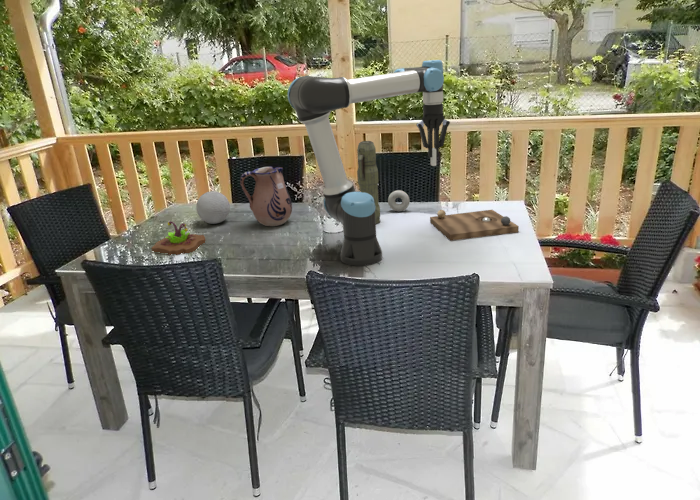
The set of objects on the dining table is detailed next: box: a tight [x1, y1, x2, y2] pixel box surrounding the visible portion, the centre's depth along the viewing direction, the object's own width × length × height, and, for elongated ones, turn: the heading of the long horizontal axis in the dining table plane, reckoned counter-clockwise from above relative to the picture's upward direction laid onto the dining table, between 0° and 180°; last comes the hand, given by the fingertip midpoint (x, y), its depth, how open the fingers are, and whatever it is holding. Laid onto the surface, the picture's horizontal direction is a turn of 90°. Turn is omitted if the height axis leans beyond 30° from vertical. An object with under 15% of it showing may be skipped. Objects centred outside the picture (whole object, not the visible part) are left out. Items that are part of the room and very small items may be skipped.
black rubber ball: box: [501, 216, 511, 225], centre depth 204 cm, size 4×4×4 cm
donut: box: [387, 189, 410, 212], centre depth 238 cm, size 10×3×10 cm, turn 77°
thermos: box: [356, 140, 381, 225], centre depth 221 cm, size 9×12×35 cm
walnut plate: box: [429, 209, 520, 242], centre depth 212 cm, size 28×24×2 cm
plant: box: [150, 220, 207, 256], centre depth 213 cm, size 20×20×11 cm
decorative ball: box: [196, 190, 231, 225], centre depth 239 cm, size 15×15×15 cm
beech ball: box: [436, 209, 447, 218], centre depth 218 cm, size 4×4×4 cm
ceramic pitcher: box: [239, 166, 293, 227], centre depth 230 cm, size 18×21×25 cm
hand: (433, 165), depth 205 cm, fingers closed
